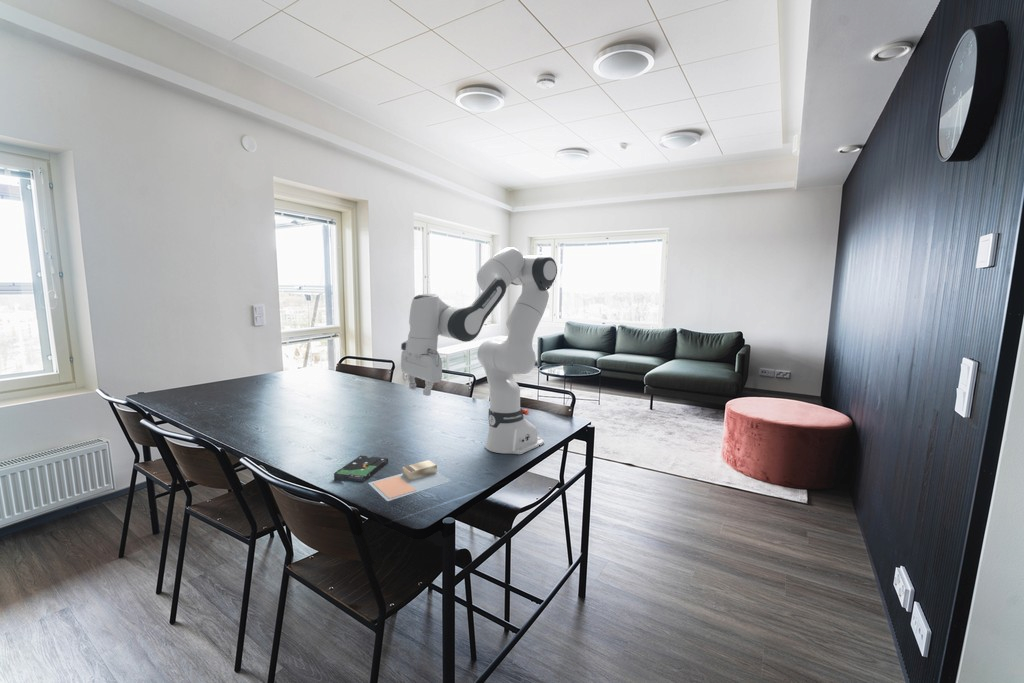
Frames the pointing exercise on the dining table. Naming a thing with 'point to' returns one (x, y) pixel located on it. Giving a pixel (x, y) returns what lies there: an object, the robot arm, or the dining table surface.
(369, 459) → the disk drive
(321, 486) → the dining table surface
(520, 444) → the robot arm
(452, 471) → the dining table surface
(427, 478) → the mat
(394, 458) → the dining table surface
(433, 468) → the cream curved ramp
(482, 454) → the dining table surface
